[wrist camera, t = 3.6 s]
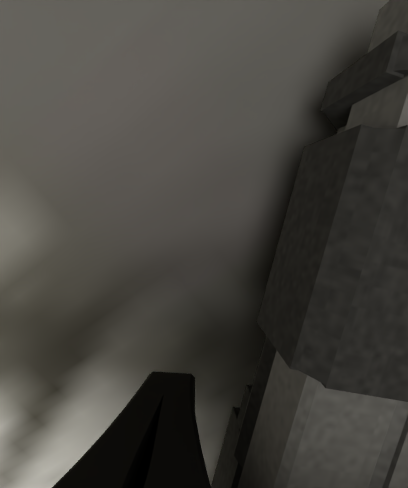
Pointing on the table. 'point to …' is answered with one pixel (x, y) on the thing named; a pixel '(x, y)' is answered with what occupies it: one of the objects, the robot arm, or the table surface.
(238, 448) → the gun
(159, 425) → the robot arm
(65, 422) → the table surface
